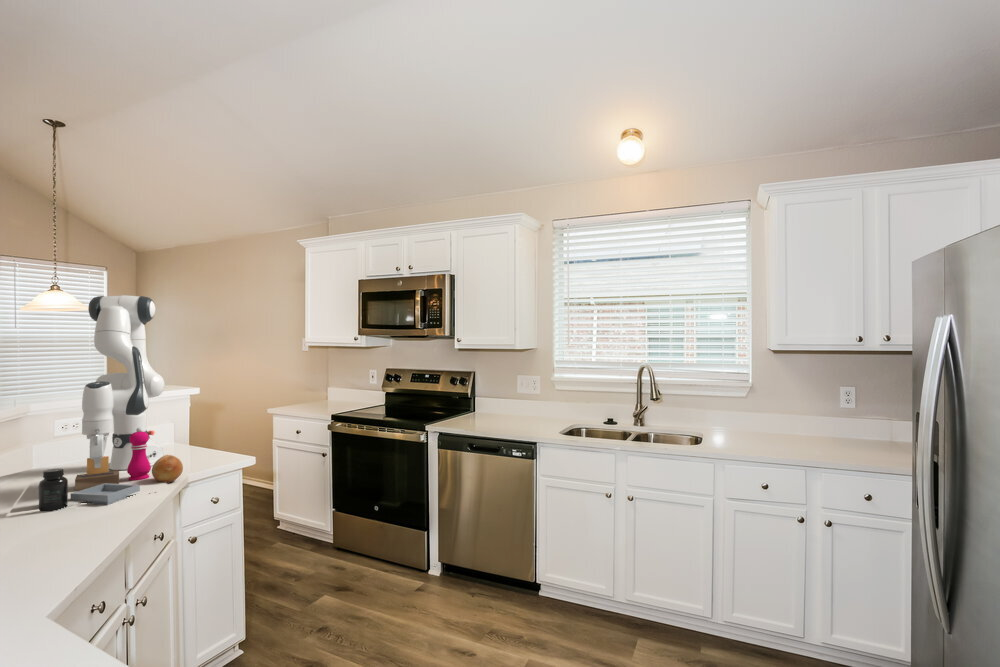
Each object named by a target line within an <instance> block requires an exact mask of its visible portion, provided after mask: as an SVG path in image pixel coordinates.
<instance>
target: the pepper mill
mask: <svg viewBox="0 0 1000 667" xmlns="http://www.w3.org/2000/svg"><path fill="white" fill-rule="evenodd" d="M136 431H137V432H135V433H133V434H132V435H131V436H130V438H129V441H130V443H131V444H132V445H131V449H132V452H133V453H132V459H131V461H130V463H129V465H128V469H126V472H127V474H128V475H129V476H128V481H129V482H130V481H131V482H132V481H133V482H134V481H135V482H136V481H142V480H147V479H149V478H150V474H149V472H151V471H152V466H151V465H150V462H149V461H148V459H147V456H146V448H147V444H146V443H147V441H148V440H149V439H150V438H149V437H150V435H148V434H147V433H146V432H143V431H142V428H141V427H138V428H137V429H136Z"/></svg>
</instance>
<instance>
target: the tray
mask: <svg viewBox="0 0 1000 667" xmlns="http://www.w3.org/2000/svg"><path fill="white" fill-rule="evenodd" d="M140 489H141V484H125V483H119V484H109V483H104V484H101V485H97V486H94V487H91V488H87V489H84V490H81V491H77V492H75V491H74V492H72V493H70V501H80V502H79V504H81V503H94V504H93V505H99V504H106V505H105V506H109V505H111V503H112V504H114V503H113V502H115V503H117V502H116V501H118V502H120V501H119V500H121V501H123V500H125V499H124V498H126V499H128V498H127V497H129V498H131V497H130V496H132V497H134V496H133V495H135V496H137V495H136V494H137V493H138V492H140V491H141V490H140ZM122 499H123V500H122ZM81 501H82V502H81ZM108 504H109V505H108Z"/></svg>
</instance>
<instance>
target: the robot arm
mask: <svg viewBox="0 0 1000 667" xmlns="http://www.w3.org/2000/svg"><path fill="white" fill-rule="evenodd" d="M87 309H88V315H89V317H90V318H91V319H92V320H93V321H95V322H96V323H95V328H94V337H93V343H94V348H95V349H96V351H97V352H99V354H101V355H103V356H105V357H107V358H110V359H114V360H115V361H116V362H117V363H120V364H122V365H123V366H124V367H125V369H126V371H127V372H113V373H112V372H111V373H106V374H102V375H100V376H98V377H97V379H96V380H95V381H93V382H90V383H89V382H88V383H87V384H86V385H85V386H84V387H83V393H82V400H81V409H82V412H83V416H82V419H81V435H83V436H86V439H87V440H89V458H90V459H94V468H100V467H101V458H103V457H104V454H105V451H106V447H107V440H108V438H109V437H110V433H112V437H111V439H112V440H111V442H112V445H113V446H112V449H111V450H112V451H111V457H110V462H109V470H111V471H113V470H119V471H124V470H125V471H126V470H127V469H128V465H129V463H130V461H131V459H132V453H133V452H132V449H131V445H132V444H131V443H130V441H129V438H130V436H131V435H132V434H133V433H135V432H137V431H136V429H137V428H138V427H141V428H142V431H143V432H146V433H147V434H148V435H149V440H148V441H147V443H146V444H147V448H146V456H147V459H148V461H149V462H150V465H151V467H153V465H154V463H155V462H156V461H157V460H158V459H159V458H161V457H163V456H165V455H164V449H163V446H162V445H161V444H159V443H158V442H156V441H154V440H152V439H151V437H150V436H154V435H155V434H156V432H155V430H152V429H151V430H147V414H146V413H147V412H146V410H147V409H148V408H149V405H150V404H149V403H150V399H151V398H156V397H159V396H161V395H162V393H163V392H164V389H165V386H166V385H165V384H166V383H165V379H164V378H163V376H162V375H161V374H159V373H158V372H157V371H156V370H154V368H153V367H152V365H151V364H150V362H149V360H148V355H147V354H148V353H147V338H146V337H147V336H146V335H147V333H146V326H145V325H146V324H147V323H148V322H151V321H152V320H153V319H154V317H155V315H156V314H155V313H156V309H157V308H156V305H155V302H154V300H153V299H152V298H151V297H148V296H143V295H140V296H138V295H126V294H122V295H107V296H105V295H99V296H95V297H93V298H92V299H90V301H89V303H88V308H87Z"/></svg>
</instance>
